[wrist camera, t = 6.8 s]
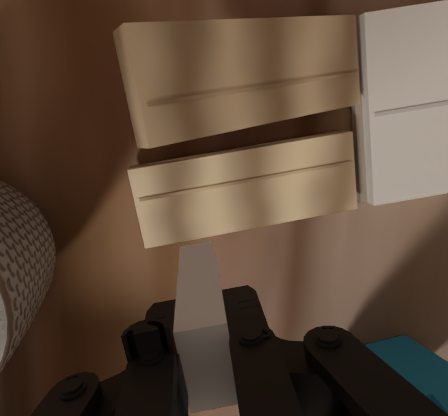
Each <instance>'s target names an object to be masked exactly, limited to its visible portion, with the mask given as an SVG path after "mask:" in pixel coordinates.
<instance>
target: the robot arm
mask: <svg viewBox="0 0 448 416" xmlns="http://www.w3.org/2000/svg"><path fill="white" fill-rule="evenodd" d="M121 338H122V342H123V346H124V350H125V354H126V357H127V361H128V363H127V367H126V370H124V371H123V372H121V373H120V374H118V375H115V376H113V377H111V378H109V379H106V380H104V381H101V382H99V378H98V376H97V375H95V374H94V373H90V372H82V373H76V374H73V375H71V376H68V377H66V378H65V379H63V380H62V381H60V382H58V383H57V384H56V385H55V386H54V387H53V388H52V389H51V390H50V391H49V393H48V394H47V395H46V396H45V398H44V399H43V400H42V401H41V403H40V404H39V405H38V407H37V408H36V409H35V410H34V412H33V413H32V414H31V416H188V403H189V408H190V413H195V412H200V411H205V410H210V409H215V408H221V407H226V406H231V405H236V404H238V407H239V414H240V416H448V414H447V413H446V412H445V411H443V410H442V409H441V408H440V407H439V406H437V405H436V404H435V403H434V402H433V401H431V400H430V399H429V398H428V397H427V396H425V395H424V394H423V393H422V392H421V391H419V390H418V389H417V388H416V387H415V386H413V385H412V384H411V383H410V382H408V381H407V380H406V379H405V378H404V377H402V376H401V375H400V374H399V373H398V372H396V371H395V370H394V369H393V368H392V367H390V366H389V365H388V364H387V363H386V362H384V361H383V360H382V359H381V358H380V357H378V356H377V355H376V354H375V353H374V352H372V351H371V350H370V349H369V348H368V347H366V346H365V345H364V344H363V343H362V342H360V341H359V340H358V339H357V338H356V337H354V336H353V335H352V334H351V333H350V332H348V331H346V330H344V329H343V328H339V327H335V326H321V327H316V328H314V329H312V330H310V331H308V332H307V333H306V335H305V336H304V341H288V340H284V339H280V338H278V337H276V336H275V334H274V333H273V331H272V330H271V329H269V327H268V324H267V321H266V318H265V315H264V313H263V310H262V307H261V304H260V301H259V298H258V296H257V293H256V291H255V290H254V289H253V288H251V287H250V286H248V285H246V286H241V287H235V288H230V289H224V290H222V288H221V282H220V276H219V270H218V265H217V259H216V253H215V247H214V241H212V242H206V243H200V244H194V245H189V246H183V247H180V253H179V265H178V277H177V290H176V299H175V300H169V301H164V302H158V303H154V304H153V305H152V306H151V307H150V308H149V310H148V311H147V313H146V317H145V320H142V321H139V322H137V323H135V324H133V325H131V326H130V327H128V328H127V329H126V330H125V331H124V332H123V334H122V336H121Z"/></svg>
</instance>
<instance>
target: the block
mask: <svg viewBox="0 0 448 416" xmlns="http://www.w3.org/2000/svg"><path fill="white" fill-rule="evenodd" d="M365 346H366V347H368V348H369V349H370V350H371V351H372V352H374V353H375V354H376V355H377V356H378V357H380V358H381V359H382V360H383V361H384V362H386V363H387V364H388V365H389V366H390V367H392V368H393V369H394V370H395V371H396V372H398V373H399V374H400V375H401V376H402V377H404V378H405V379H406V380H407V381H408V382H410V383H411V384H412V385H413V386H415V387H416V388H417V389H418V390H419V391H421V392H422V393H423V394H424V395H425V396H427V397H428V398H429V399H430V400H431V401H433V402H434V403H435V404H436V405H437V406H439V407H440V408H441V409H442V410H443V411H445V412H446V413H447V414H448V362H447V361H446V360H444V359H442V358H441V357H439V356H438V355H436V354H435V353H433V352H432V351H430V350H429V349H427V348H425V347H424V346H422V345H421V344H419V343H418V342H416V341H415V340H413V339H412V338H410V337H408V336H406V335H401V336H397V337H393V338H389V339H385V340H381V341H377V342H373V343H369V344H365Z"/></svg>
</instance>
